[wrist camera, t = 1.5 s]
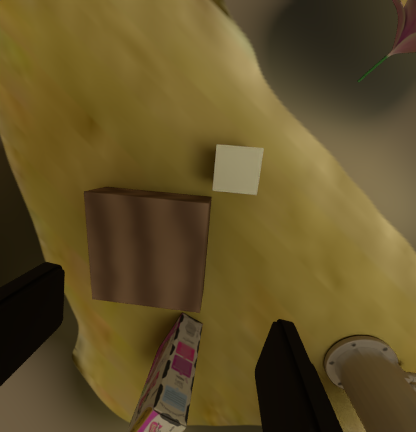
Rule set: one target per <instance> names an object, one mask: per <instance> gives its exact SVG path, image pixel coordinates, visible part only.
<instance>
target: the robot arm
mask: <svg viewBox="0 0 416 432" xmlns="http://www.w3.org/2000/svg"><path fill="white" fill-rule="evenodd" d="M64 276H65V272H64V270H63V269H62V267H61V266H60V265H57V264H53V263H49V262H45V263H42V264H41V265H39V266H37V267H35V268H34V269H32V270H30V271H28V272H27V273H25V274H23V275H21V276H20V277H18V278H16V279H14V280H13V281H11V282H9V283H7V284H6V285H4V286H2V287H0V386H1V385H2V384H3V383H4V382H5V381H6V380H7V379H8V378H9V377H10V376H11V375H12V374H13V373H14V372H15V371H16V370H17V369H18V368H19V367H20V366H21V365H22V364H23V363H24V362H25V361H26V360H27V359H28V358H29V357H30V356H31V355H32V354H33V353H34V352H35V351H36V350H37V349H38V348H39V347H40V346H41V345H42V344H43V342H45V341H46V340H47V339H48V338H49V337H50V336H51V335H52V334H53V333H54V332H55V331H56V330H57V329H58V327H59V326H60V325H61V323H62V321H63V306H64V305H63V304H64ZM324 367H325V370H326V373H327V375H328V377H329V378H330V380H331V381H332V382H333V383H334V384H335V385H336V386H338V387H340V388H342V389H344V390H345V392H346V394H347V396H348V397H349V399H350V401H351V403H352V405H353V407H354V409H355V411H356V413H357V415H358V417H359V418H360V420H361V422H362V424H363V426H364V428H365V430H366V432H416V373H411V372H405V371H403V369H402V368H401V367H400V366H399V365H398V359H397V356H396V354H395V353H394V351H393V350H392V349H391V348H390V347H389V345H387V344H386V343H385V342H384V341H382V340H380V339H378V338H374V337H370V336H354V337H349V338H346V339H344V340H341V341H339V342H338V343H336V344H335V345H334V346H333V347H332V348H331V349H330V350H329V351H328V353H327V354H326V357H325V360H324ZM255 380H256V387H257V394H258V401H259V408H260V415H261V422H262V429H263V432H343V430H342V428H341V426H340V424H339V421H338V419H337V417H336V415H335V412H334V410H333V408H332V405H331V403H330V401H329V399H328V396H327V394H326V392H325V390H324V387H323V385H322V383H321V380H320V378H319V376H318V374H317V371H316V369H315V367H314V366H313V364H312V363H311V362H310V360H309V357H308V355H307V353H306V350H305V348H304V346H303V343H302V341H301V339H300V336H299V334H298V332H297V329H296V327H295V325H294V323H293V322H290V321H286V320H281V319H278V320H277V322H273V324H272V326H271V329H270V331H269V334H268V336H267V339H266V342H265V344H264V347H263V349H262V352H261V354H260V357H259V360H258V362H257V365H256V368H255ZM410 381H411V382H410Z"/></svg>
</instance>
